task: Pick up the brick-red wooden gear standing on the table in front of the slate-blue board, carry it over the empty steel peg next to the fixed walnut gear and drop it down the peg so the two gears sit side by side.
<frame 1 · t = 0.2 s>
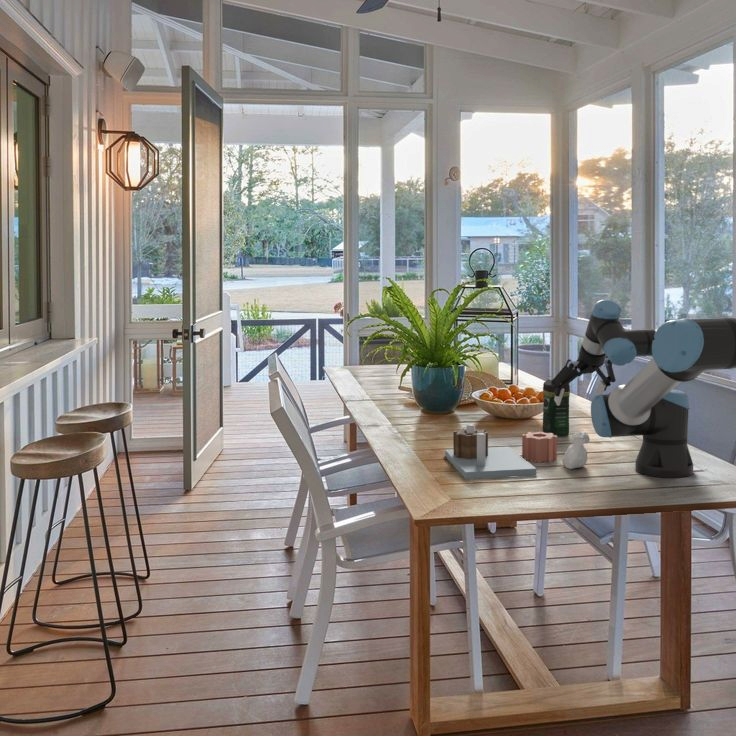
hand: (577, 400, 245), 15 cm above the table, tool tilted 35°, fingers open, 13 cm apart
coffee jar: (555, 434, 268), on the table
white rounded figure: (575, 467, 227), on the table
slate gear board: (488, 465, 230), on the table
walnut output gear: (470, 455, 234), resting on slate gear board
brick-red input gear: (539, 458, 237), on the table
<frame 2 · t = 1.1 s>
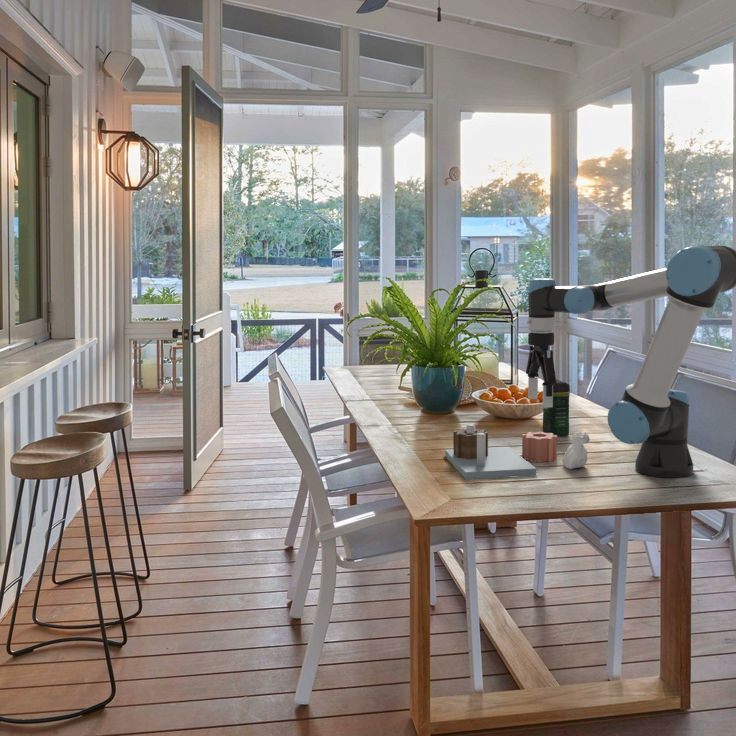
hand: (540, 403, 235), 17 cm above the table, tool pointing down, fingers open, 13 cm apart
nothing on the table moved.
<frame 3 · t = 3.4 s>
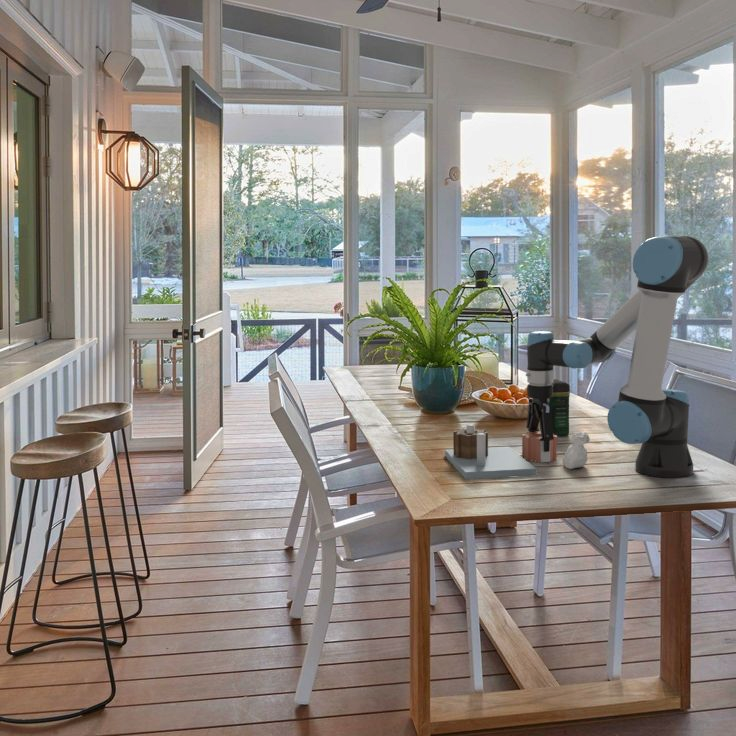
hand: (539, 457, 237), 0 cm above the table, tool pointing down, fingers closed on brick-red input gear, 10 cm apart
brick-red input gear: (539, 458, 237), on the table, touching gripper
everything else where it was.
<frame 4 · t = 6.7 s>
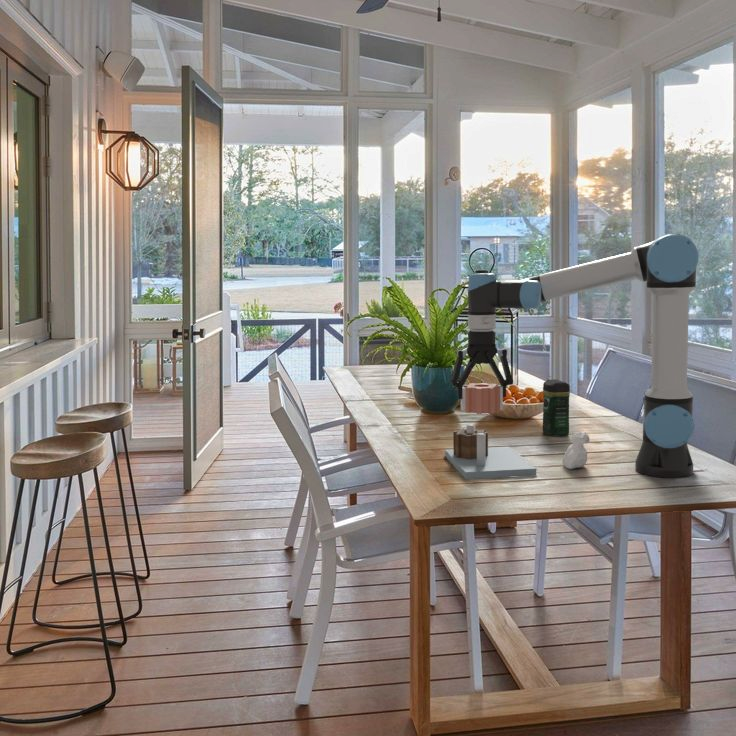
hand: (481, 409, 220), 18 cm above the table, tool pointing down, fingers closed on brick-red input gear, 10 cm apart
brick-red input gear: (481, 410, 220), point 18 cm above the table, touching gripper
everything else where it was.
when the fingers open (6 cm above the table, at t = 10.0 s): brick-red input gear drops 3 cm, resting on slate gear board.
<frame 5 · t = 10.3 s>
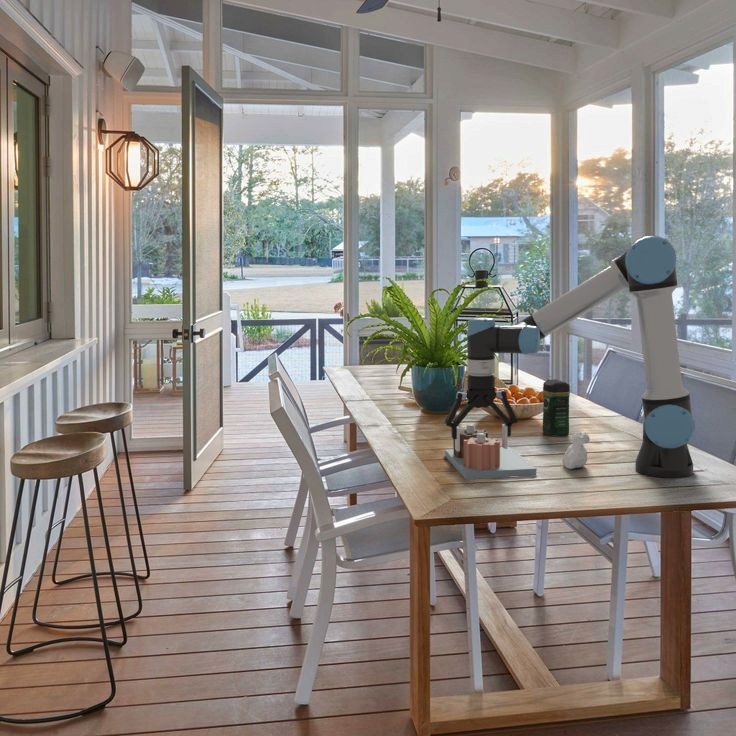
hand: (481, 449, 222), 7 cm above the table, tool pointing down, fingers open, 13 cm apart
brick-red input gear: (481, 465, 222), point 2 cm above the table, touching slate gear board
everything else where it was.
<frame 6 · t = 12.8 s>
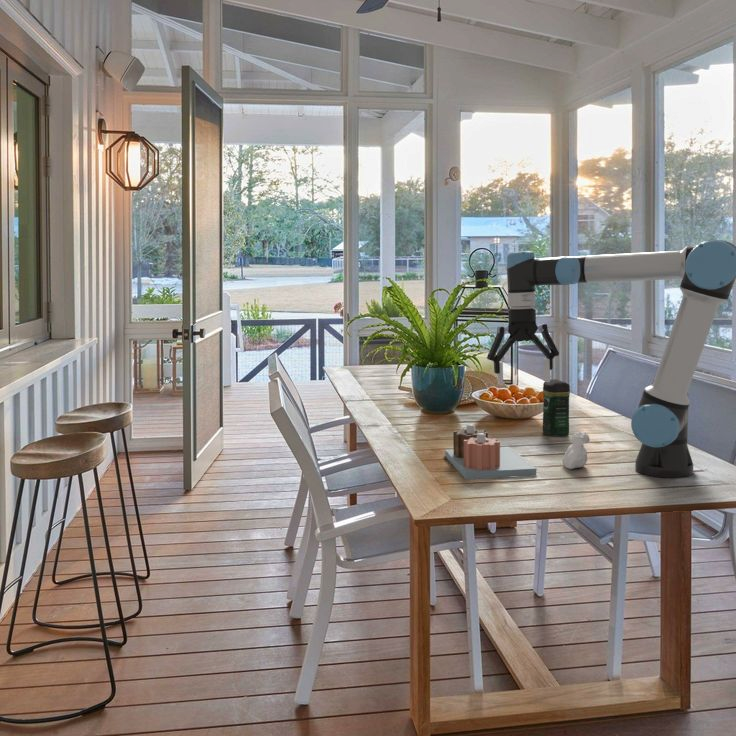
hand: (523, 383, 223), 25 cm above the table, tool pointing down, fingers open, 13 cm apart
nothing on the table moved.
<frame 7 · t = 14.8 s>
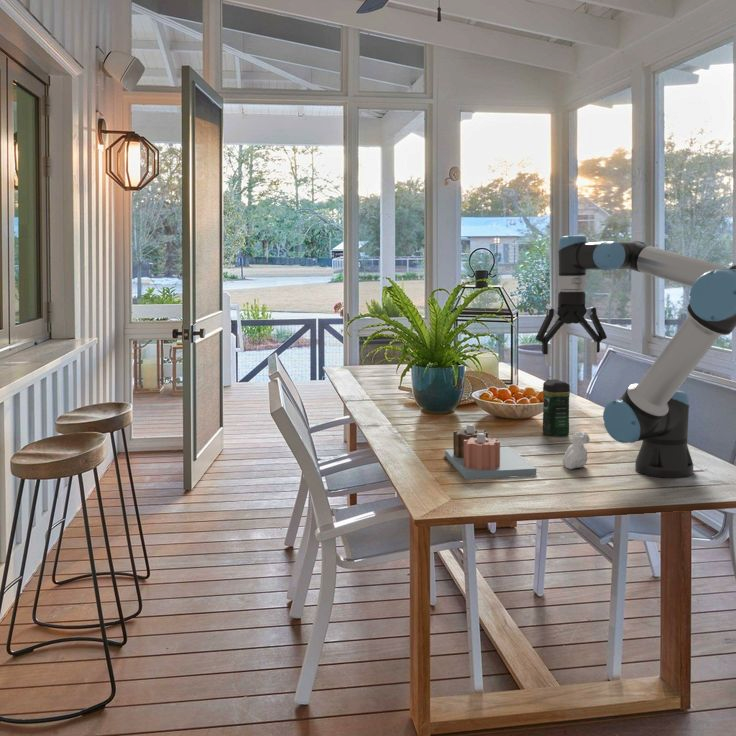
hand: (570, 364, 228), 29 cm above the table, tool pointing down, fingers open, 13 cm apart
nothing on the table moved.
at the end: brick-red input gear 0.2 cm from the target spot on the slate gear board, point 2.0 cm above the slate gear board's base; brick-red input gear tilted 0°; the gripper is holding nothing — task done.
